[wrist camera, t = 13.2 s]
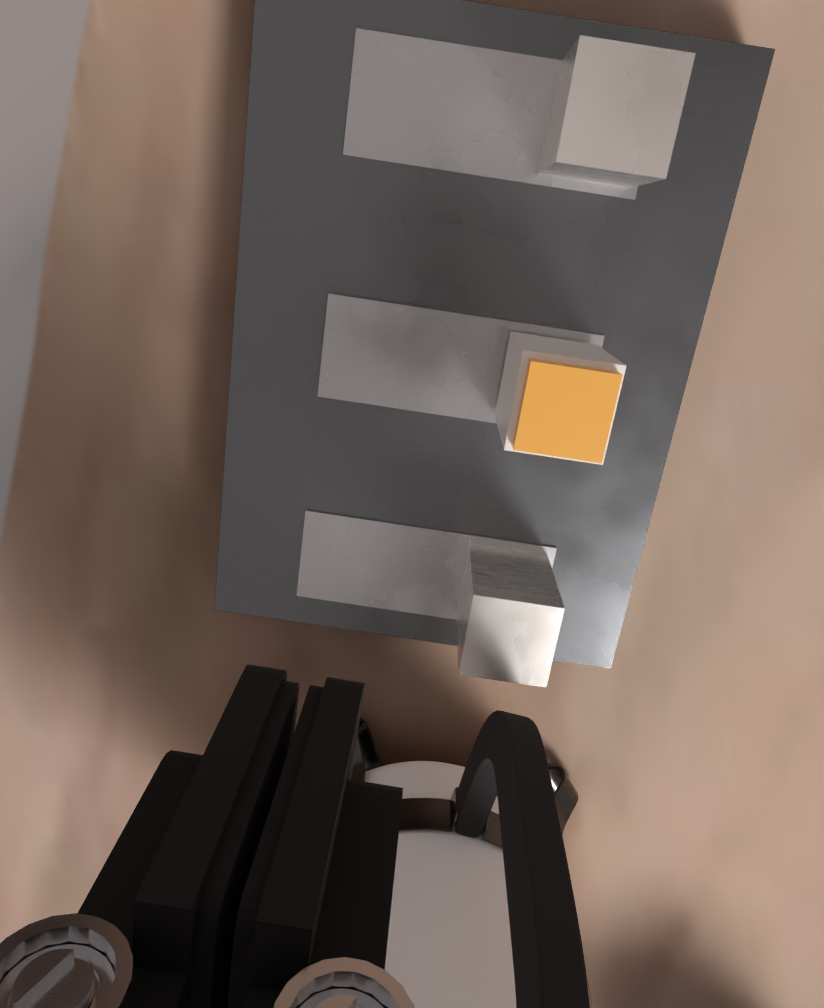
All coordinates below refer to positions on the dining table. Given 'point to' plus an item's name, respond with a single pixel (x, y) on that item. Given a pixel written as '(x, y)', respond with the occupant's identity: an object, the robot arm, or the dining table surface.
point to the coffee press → (483, 875)
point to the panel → (464, 312)
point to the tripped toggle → (558, 398)
